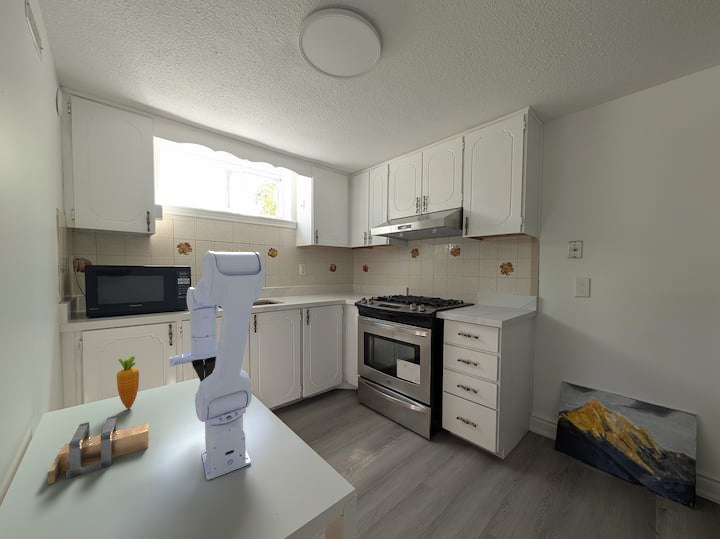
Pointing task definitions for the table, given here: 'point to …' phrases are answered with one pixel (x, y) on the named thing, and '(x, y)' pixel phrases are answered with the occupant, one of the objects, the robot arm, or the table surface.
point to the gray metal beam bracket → (76, 449)
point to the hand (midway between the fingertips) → (204, 388)
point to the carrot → (128, 382)
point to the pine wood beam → (121, 445)
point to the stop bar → (54, 470)
